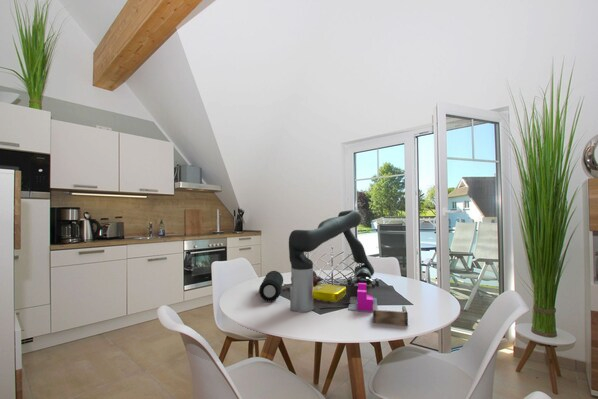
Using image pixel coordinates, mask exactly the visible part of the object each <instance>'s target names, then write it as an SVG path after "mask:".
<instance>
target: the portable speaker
mask: <svg viewBox="0 0 598 399" xmlns="http://www.w3.org/2000/svg"><path fill="white" fill-rule="evenodd" d="M283 284H284V277H283V275H282V273H281V272H279V271H277V270H271V271H268V272H267V273H266V274H265V277H264V278H263V280H262V282H261V284H260V286H259V289H258V293H259V295H260V296H259V297H261V299H262V300H264V301H266V302H274V301H276V300H277V299H278V298H279V297H280V295H281V292H282V288H283Z"/></svg>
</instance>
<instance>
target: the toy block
mask: <svg viewBox="0 0 598 399" xmlns="http://www.w3.org/2000/svg"><path fill="white" fill-rule="evenodd" d="M356 297H357V302H358V310H366V311H365V312H367V311H373V298H374V297H373V294H367V287H366V283H358V286H357V296H356Z"/></svg>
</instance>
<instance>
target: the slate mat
mask: <svg viewBox="0 0 598 399" xmlns="http://www.w3.org/2000/svg"><path fill="white" fill-rule="evenodd" d="M350 299H351V300H357V296H350V298H349V300H350ZM373 304H375V305H376V310H379V308H378V299H377V297H373ZM347 311H354V312H355V311H356V312H370V313H373V311H366V310H358V304H348V308H347Z"/></svg>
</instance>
